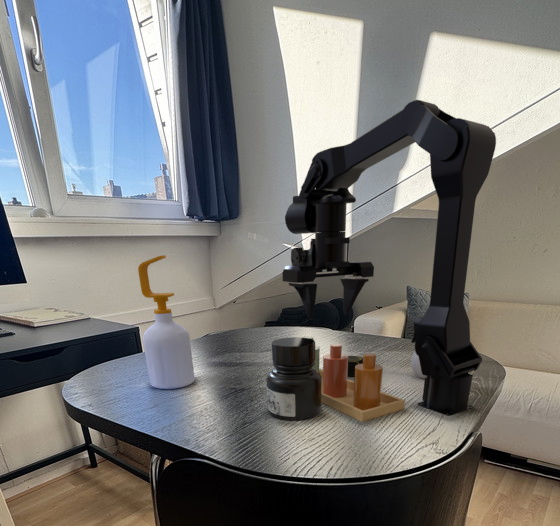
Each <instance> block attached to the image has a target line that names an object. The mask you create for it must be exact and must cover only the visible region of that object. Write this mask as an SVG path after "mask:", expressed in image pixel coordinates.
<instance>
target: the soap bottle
mask: <svg viewBox="0 0 560 526" xmlns="http://www.w3.org/2000/svg"><path fill="white" fill-rule="evenodd" d="M166 258H167V256H166V255H164V254H163V255H158V256H156V257H153V258H150V259H148V260H146V261H145V260H144V261H143V262H141V263H140V264H139V265H138V267H137V272H138V277H139V283H140V284H139V285H140V289H141V294H142V295H143V296H144V297H145V298H147V299H153V302H154V303H156V306H157V308H156V309H154V310H153V315H154V323H153V324H152V325H150V326H149V327H148V328H147V329H146V330H145V331H144V333H143V336H142V342H143V343H142V344H143V348H144V354H145V355H144V356H145V361H146V367H147V373H148V379H149V384H150V385H151V386H152V388H156V389H159V390H174V389H182V388H184V387H187V386H189V385H192V383H194V382H195V369H194V363H193V354H192V346H191V338H190V333H189V332H188V330H187V329H186V328H185V327H184V326H183V325H181V324H179V323H177V322H176V321H174V320H173V312H172V308H167V302H169V298H171V297H173V296H175V293H174V292H158V293H157V292H153V291H152V289H151V286H150V280H149V273H148V272H149V271H148V268H149V266H150V265H151V264H153V263H157V262H158V261H162V260H163V259H166Z"/></svg>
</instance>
